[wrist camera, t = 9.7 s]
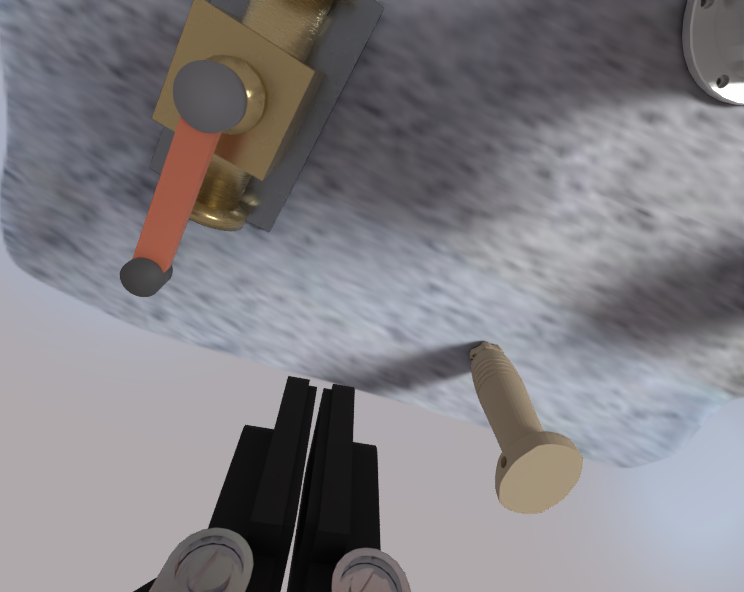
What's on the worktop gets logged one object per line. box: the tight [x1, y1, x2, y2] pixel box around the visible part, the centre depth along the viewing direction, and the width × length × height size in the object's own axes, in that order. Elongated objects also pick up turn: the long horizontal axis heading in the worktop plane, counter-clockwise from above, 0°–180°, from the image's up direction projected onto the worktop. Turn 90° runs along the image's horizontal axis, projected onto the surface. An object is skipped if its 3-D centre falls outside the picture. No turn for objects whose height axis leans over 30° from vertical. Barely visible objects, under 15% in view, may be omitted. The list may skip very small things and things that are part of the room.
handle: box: [469, 342, 583, 514], centre depth 36 cm, size 5×6×15 cm
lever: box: [120, 60, 247, 297], centre depth 23 cm, size 13×3×2 cm, turn 151°
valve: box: [149, 0, 384, 232], centre depth 28 cm, size 18×10×11 cm, turn 149°
